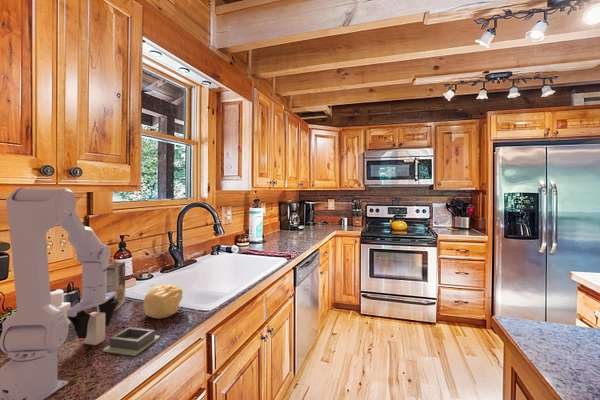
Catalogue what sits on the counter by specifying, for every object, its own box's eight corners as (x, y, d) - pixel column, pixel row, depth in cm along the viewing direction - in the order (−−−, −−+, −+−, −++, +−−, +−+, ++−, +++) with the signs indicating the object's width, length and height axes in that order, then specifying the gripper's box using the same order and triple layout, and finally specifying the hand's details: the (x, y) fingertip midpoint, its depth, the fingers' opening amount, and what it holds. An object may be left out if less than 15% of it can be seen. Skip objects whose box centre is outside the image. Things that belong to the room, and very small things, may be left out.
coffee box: (107, 303, 113) (108, 262, 113) (125, 302, 114) (126, 261, 114) (95, 312, 104) (96, 267, 104) (115, 311, 106) (115, 267, 105)
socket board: (135, 355, 77) (135, 344, 77) (102, 351, 79) (103, 340, 79) (160, 337, 87) (160, 327, 87) (130, 334, 89) (130, 324, 89)
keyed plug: (96, 345, 82) (96, 317, 82) (82, 343, 83) (82, 315, 83) (105, 339, 85) (105, 312, 85) (91, 338, 86) (92, 311, 86)
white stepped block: (29, 333, 88) (29, 294, 88) (48, 323, 95) (49, 287, 95) (53, 334, 88) (53, 294, 88) (71, 323, 95) (71, 287, 95)
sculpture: (165, 324, 96) (165, 291, 96) (135, 319, 99) (136, 288, 99) (187, 311, 107) (187, 282, 107) (160, 307, 110) (160, 279, 110)
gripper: (103, 276, 92) (103, 319, 92) (57, 291, 77) (57, 342, 78) (123, 278, 90) (122, 321, 91) (80, 293, 76) (79, 345, 76)
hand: (94, 331), depth 84 cm, fingers open, 7 cm apart
